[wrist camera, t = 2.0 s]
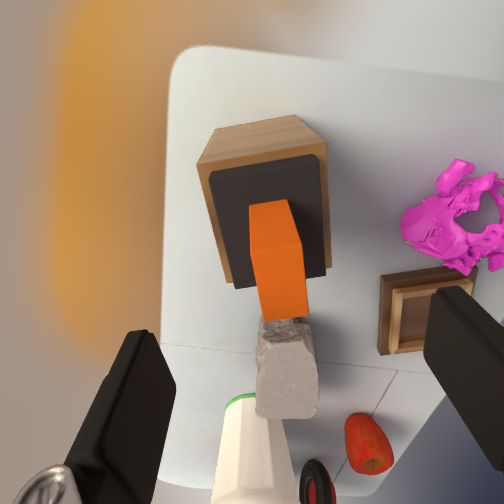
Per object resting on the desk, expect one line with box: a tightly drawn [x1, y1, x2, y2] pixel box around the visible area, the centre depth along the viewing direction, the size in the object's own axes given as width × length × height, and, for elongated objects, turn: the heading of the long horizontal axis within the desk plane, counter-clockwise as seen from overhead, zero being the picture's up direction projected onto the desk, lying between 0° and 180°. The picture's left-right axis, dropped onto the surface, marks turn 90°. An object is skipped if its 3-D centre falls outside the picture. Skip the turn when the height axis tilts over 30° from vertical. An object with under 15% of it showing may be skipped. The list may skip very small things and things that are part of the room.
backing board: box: [377, 265, 478, 356], centre depth 37 cm, size 12×10×2 cm
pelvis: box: [400, 159, 504, 276], centre depth 28 cm, size 12×10×7 cm
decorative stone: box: [255, 316, 319, 420], centre depth 37 cm, size 15×7×10 cm
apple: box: [344, 414, 394, 475], centre depth 45 cm, size 6×6×8 cm
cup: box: [210, 394, 301, 504], centre depth 41 cm, size 12×12×15 cm
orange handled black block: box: [208, 154, 326, 322], centre depth 15 cm, size 7×6×6 cm
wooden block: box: [196, 115, 332, 283], centre depth 23 cm, size 8×7×12 cm
